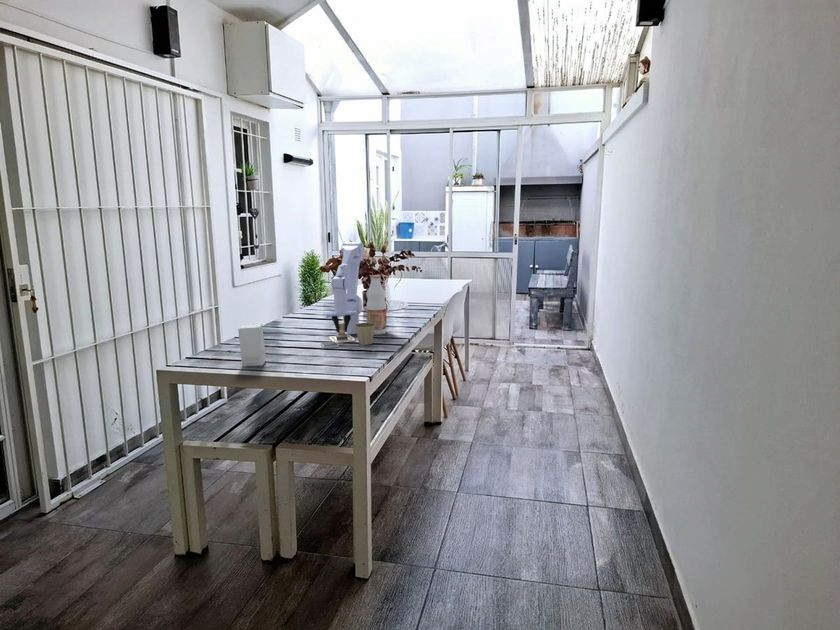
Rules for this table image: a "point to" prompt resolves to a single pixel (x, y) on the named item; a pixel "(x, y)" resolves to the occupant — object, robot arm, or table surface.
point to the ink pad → (329, 344)
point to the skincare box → (252, 345)
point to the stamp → (341, 332)
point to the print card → (350, 339)
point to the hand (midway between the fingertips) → (341, 331)
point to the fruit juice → (376, 305)
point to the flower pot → (365, 333)
